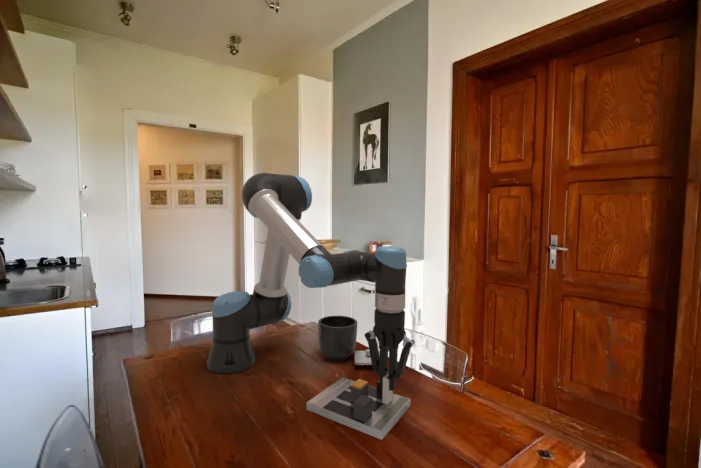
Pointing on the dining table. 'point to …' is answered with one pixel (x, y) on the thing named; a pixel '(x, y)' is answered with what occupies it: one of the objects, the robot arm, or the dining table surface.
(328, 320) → the planter
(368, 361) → the light switch
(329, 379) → the dining table surface
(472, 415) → the dining table surface
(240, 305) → the robot arm
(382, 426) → the panel
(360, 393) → the block
